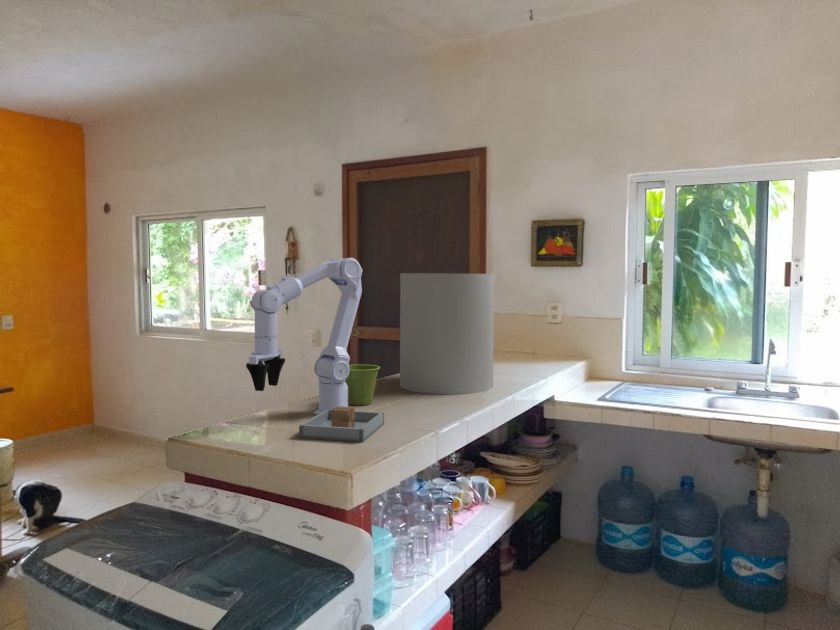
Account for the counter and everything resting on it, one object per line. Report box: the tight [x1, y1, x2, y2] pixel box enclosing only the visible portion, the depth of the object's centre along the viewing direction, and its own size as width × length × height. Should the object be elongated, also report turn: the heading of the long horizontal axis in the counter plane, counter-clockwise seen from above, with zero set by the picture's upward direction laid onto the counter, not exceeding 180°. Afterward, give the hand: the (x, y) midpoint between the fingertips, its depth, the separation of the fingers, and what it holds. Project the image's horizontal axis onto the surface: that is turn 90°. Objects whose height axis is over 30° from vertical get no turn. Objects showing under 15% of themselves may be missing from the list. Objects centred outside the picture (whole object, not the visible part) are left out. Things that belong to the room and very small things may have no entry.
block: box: [331, 406, 356, 428], centre depth 150 cm, size 4×4×5 cm
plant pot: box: [345, 363, 381, 406], centre depth 182 cm, size 12×12×11 cm
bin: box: [298, 409, 385, 443], centre depth 150 cm, size 18×16×3 cm
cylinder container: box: [399, 272, 496, 395], centre depth 213 cm, size 34×33×40 cm
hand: (266, 387), depth 156 cm, fingers open, 7 cm apart
